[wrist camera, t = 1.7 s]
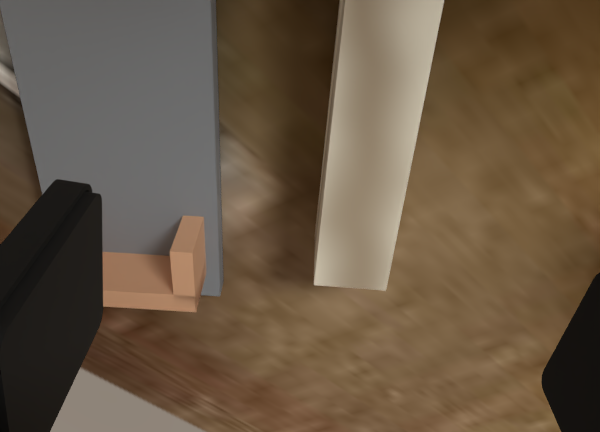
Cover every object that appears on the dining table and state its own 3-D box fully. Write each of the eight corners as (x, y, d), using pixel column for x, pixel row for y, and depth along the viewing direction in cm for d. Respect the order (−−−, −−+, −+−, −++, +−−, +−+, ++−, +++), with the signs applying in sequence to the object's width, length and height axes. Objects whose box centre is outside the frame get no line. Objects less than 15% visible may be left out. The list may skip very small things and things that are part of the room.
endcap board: (206, -342, 21) (178, -386, 17) (223, 281, 38) (211, 335, 34) (-62, -359, 21) (-155, -408, 17) (71, 271, 38) (40, 325, 34)
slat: (456, -192, 24) (484, -199, 20) (378, 238, 36) (385, 290, 32) (360, -200, 24) (368, -209, 20) (314, 233, 36) (313, 285, 32)
